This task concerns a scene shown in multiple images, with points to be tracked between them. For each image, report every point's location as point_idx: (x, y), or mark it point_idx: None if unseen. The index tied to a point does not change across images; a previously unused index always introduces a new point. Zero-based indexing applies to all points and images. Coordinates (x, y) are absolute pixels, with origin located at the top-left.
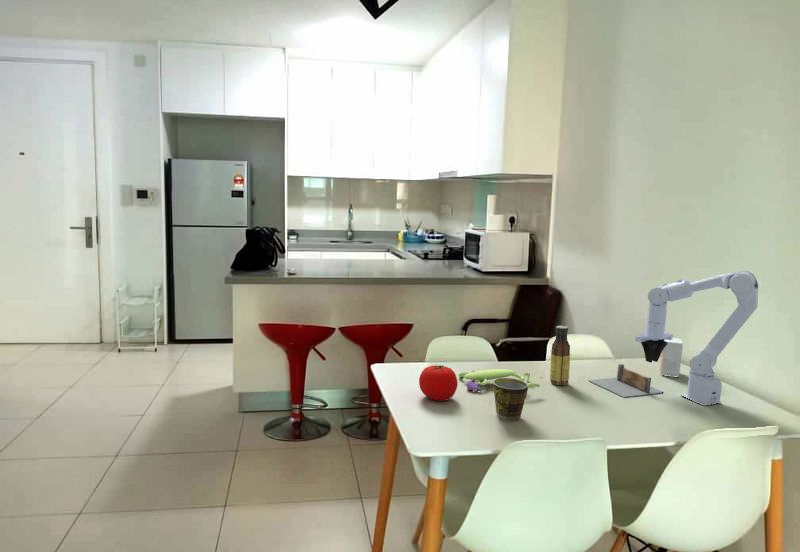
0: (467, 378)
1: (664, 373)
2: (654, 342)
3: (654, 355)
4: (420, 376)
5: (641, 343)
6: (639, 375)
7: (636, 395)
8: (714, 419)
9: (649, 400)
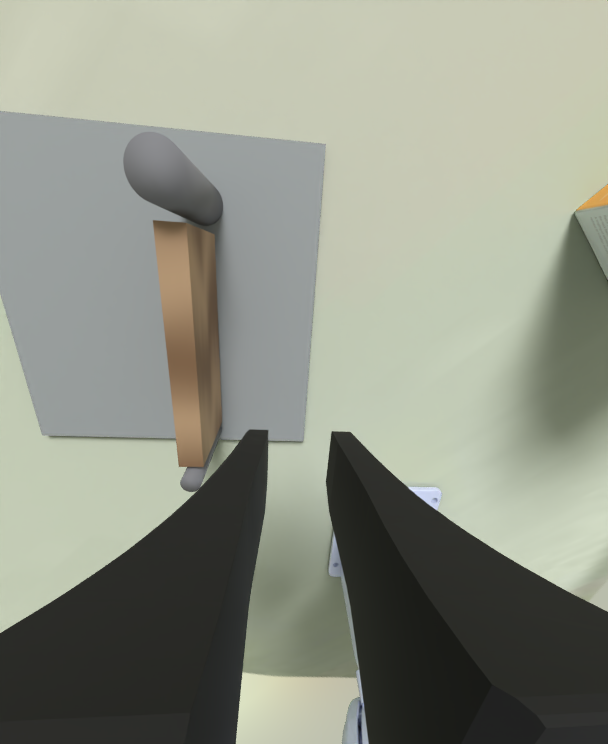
0: None
1: (599, 227)
2: (427, 733)
3: (341, 499)
4: None
5: (14, 641)
6: (173, 412)
7: (130, 435)
8: (256, 636)
9: (160, 484)
